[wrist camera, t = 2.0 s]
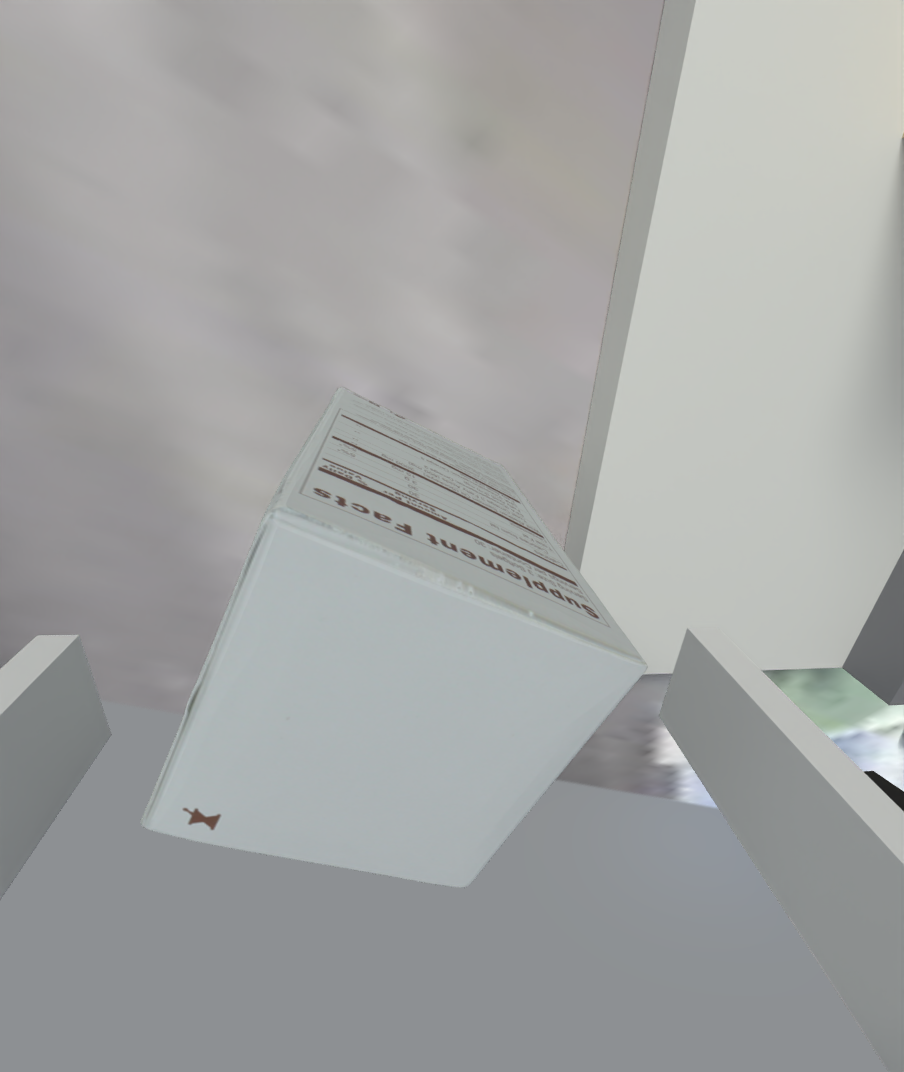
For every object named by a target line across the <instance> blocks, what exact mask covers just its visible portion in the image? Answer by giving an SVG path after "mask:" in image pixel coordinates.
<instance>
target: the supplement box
mask: <svg viewBox="0 0 904 1072" xmlns="http://www.w3.org/2000/svg"><path fill="white" fill-rule="evenodd" d="M647 668H648V666H647V664H646V662H645V661H644V660H643V658H642V657H641V656H640V654H639V653H638V651H637V650H636V649H635V647H634V646H633V645H632V643H631V642H630V640H629V639H628V638H627V636H626V635H625V634H624V632H623V631H622V630H621V628H620V627H619V626H618V625H617V623H616V622H615V620H614V619H613V617H612V616H611V615H610V613H609V612H608V610H607V609H606V608H605V606H604V605H603V603H602V602H601V601H600V599H599V598H598V596H597V595H596V594H595V592H594V591H593V590H592V588H591V587H590V586H589V584H588V583H587V582H586V580H585V579H584V578H583V576H582V575H581V573H580V572H579V571H578V569H577V568H576V567H575V565H574V564H573V563H572V561H571V560H570V559H569V557H568V556H567V554H566V553H565V552H564V550H563V549H562V548H561V547H560V545H559V544H558V543H557V541H556V540H555V538H554V537H553V535H552V534H551V532H550V531H549V530H548V528H547V527H546V526H545V524H544V523H543V522H542V520H541V519H540V517H539V516H538V514H537V513H536V511H535V510H534V509H533V507H532V506H531V505H530V503H529V502H528V500H527V499H526V498H525V496H524V495H523V493H522V492H521V491H520V489H519V488H518V486H517V485H516V484H515V482H514V481H513V479H512V478H511V477H510V475H509V474H508V472H507V471H506V470H505V469H504V467H503V466H502V465H500V464H498V463H496V462H493V461H491V460H489V459H487V458H485V457H483V456H481V455H479V454H477V453H475V452H473V451H471V450H469V449H467V448H465V447H463V446H461V445H459V444H456V443H454V442H452V441H450V440H448V439H446V438H444V437H442V436H440V435H438V434H436V433H434V432H432V431H430V430H428V429H426V428H424V427H422V426H420V425H418V424H416V423H414V422H412V421H410V420H408V419H406V418H404V417H402V416H400V415H398V414H396V413H394V412H392V411H390V410H388V409H386V408H384V407H382V406H380V405H378V404H376V403H374V402H372V401H370V400H368V399H366V398H364V397H362V396H360V395H357V394H355V393H353V392H351V391H349V390H347V389H345V388H343V387H340V388H338V390H337V391H336V393H335V394H334V396H333V398H332V400H331V402H330V404H329V406H328V407H327V409H326V411H325V412H324V414H323V415H322V417H321V419H320V420H319V422H318V423H317V425H316V426H315V428H314V430H313V431H312V433H311V435H310V436H309V438H308V440H307V441H306V443H305V444H304V446H303V447H302V449H301V451H300V452H299V454H298V455H297V457H296V458H295V460H294V462H293V463H292V465H291V467H290V468H289V470H288V471H287V473H286V475H285V476H284V478H283V480H282V482H281V484H280V486H279V488H278V489H277V491H276V493H275V495H274V497H273V499H272V501H271V503H270V505H269V507H268V508H267V510H266V512H265V514H264V516H263V518H262V521H261V523H260V526H259V528H258V531H257V533H256V536H255V538H254V541H253V543H252V546H251V548H250V551H249V553H248V556H247V558H246V561H245V563H244V566H243V568H242V571H241V573H240V576H239V578H238V581H237V583H236V586H235V588H234V591H233V593H232V596H231V598H230V601H229V603H228V606H227V608H226V611H225V613H224V616H223V619H222V621H221V624H220V626H219V629H218V631H217V634H216V636H215V638H214V641H213V643H212V646H211V648H210V651H209V653H208V656H207V658H206V660H205V663H204V665H203V668H202V670H201V673H200V675H199V677H198V680H197V682H196V684H195V687H194V689H193V691H192V693H191V696H190V698H189V700H188V703H187V705H186V709H185V713H184V716H183V719H182V722H181V724H180V727H179V729H178V732H177V734H176V736H175V739H174V741H173V744H172V746H171V749H170V751H169V754H168V756H167V759H166V761H165V764H164V766H163V769H162V771H161V773H160V776H159V779H158V781H157V784H156V786H155V788H154V791H153V793H152V795H151V798H150V800H149V803H148V805H147V807H146V810H145V812H144V814H143V817H142V820H141V825H142V826H143V827H144V828H146V829H149V830H152V831H156V832H159V833H162V834H166V835H171V836H175V837H179V838H183V839H187V840H191V841H196V842H201V843H206V844H211V845H216V846H221V847H226V848H231V849H237V850H242V851H248V852H254V853H260V854H266V855H271V856H277V857H283V858H289V859H294V860H299V861H306V862H312V863H319V864H325V865H330V866H336V867H341V868H346V869H351V870H357V871H362V872H368V873H375V874H380V875H386V876H391V877H397V878H403V879H408V880H413V881H420V882H424V883H429V884H436V885H443V886H451V887H461V888H465V887H467V886H469V885H470V884H471V883H472V882H473V881H474V879H475V878H476V877H477V876H478V874H479V873H480V872H481V871H482V870H483V868H484V867H485V866H486V864H487V863H488V862H489V861H490V859H491V858H492V857H493V856H494V854H495V853H496V852H497V851H498V849H499V848H500V847H501V846H502V844H503V843H504V842H505V841H506V839H507V838H508V837H509V835H511V833H512V832H513V831H514V830H515V828H516V827H517V826H518V825H519V823H520V822H521V821H522V820H523V819H524V818H525V816H526V815H527V814H528V813H529V811H530V810H531V809H532V808H533V807H534V805H535V804H536V803H537V802H538V801H539V799H540V798H541V797H542V796H543V795H544V793H545V792H546V791H547V790H548V788H549V787H550V786H551V785H552V784H553V782H554V781H555V780H556V779H557V777H558V776H559V775H560V774H561V773H562V771H563V770H564V769H565V768H566V767H567V765H568V764H569V763H570V762H571V760H572V759H573V758H574V757H575V756H576V754H577V753H578V752H579V751H580V749H581V748H582V747H583V746H584V745H585V743H586V742H587V741H588V740H589V739H590V737H591V736H592V735H593V734H594V733H595V731H596V730H597V729H598V728H599V727H600V725H601V724H602V723H603V722H604V720H605V719H606V718H607V717H608V716H609V714H610V713H611V712H612V711H613V710H614V709H615V707H616V706H617V705H618V704H619V703H620V701H621V700H622V699H623V698H624V696H625V695H626V694H627V693H628V692H629V691H630V689H631V688H632V687H633V686H634V685H635V683H636V682H637V681H638V680H639V679H640V677H641V676H642V675H643V674H644V673H645V671H646V670H647Z"/></svg>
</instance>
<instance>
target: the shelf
mask: <svg viewBox="0 0 904 1072" xmlns="http://www.w3.org/2000/svg"><path fill="white" fill-rule="evenodd" d="M903 133H904V0H665V3H664V8H663V14H662V19H661V25H660V30H659V36H658V41H657V47H656V52H655V58H654V63H653V69H652V74H651V80H650V85H649V90H648V96H647V101H646V107H645V112H644V118H643V123H642V129H641V134H640V140H639V145H638V151H637V156H636V161H635V167H634V172H633V178H632V183H631V189H630V194H629V200H628V205H627V211H626V216H625V222H624V227H623V233H622V238H621V243H620V249H619V254H618V260H617V265H616V271H615V276H614V282H613V287H612V293H611V298H610V304H609V309H608V315H607V320H606V325H605V331H604V336H603V342H602V347H601V353H600V358H599V364H598V369H597V375H596V380H595V386H594V391H593V397H592V402H591V407H590V413H589V418H588V424H587V429H586V435H585V440H584V446H583V451H582V457H581V462H580V468H579V473H578V478H577V484H576V489H575V495H574V500H573V506H572V511H571V517H570V522H569V528H568V533H567V539H566V544H565V550H564V552H565V553H566V554H567V556H568V557H569V559H570V560H571V561H572V563H573V564H574V565H575V567H576V568H577V569H578V571H579V572H580V573H581V575H582V576H583V578H584V579H585V580H586V582H587V583H588V584H589V586H590V587H591V588H592V590H593V591H594V592H595V594H596V595H597V596H598V598H599V599H600V601H601V602H602V603H603V605H604V606H605V608H606V609H607V610H608V612H609V613H610V615H611V616H612V617H613V619H614V620H615V622H616V623H617V625H618V626H619V627H620V628H621V630H622V631H623V632H624V634H625V635H626V636H627V638H628V639H629V640H630V642H631V643H632V645H633V646H634V647H635V649H636V650H637V651H638V653H639V654H640V656H641V657H642V658H643V660H644V661H645V662H646V664H647V666H648V668H647V670H646V671H645V673H644V674H671V673H673V670H674V667H675V664H676V661H677V658H678V655H679V652H680V649H681V646H682V643H683V640H684V637H685V633H686V630H687V628H719V629H720V630H721V631H722V632H723V633H724V634H725V635H726V636H727V637H728V638H729V639H730V640H731V641H732V642H733V643H734V644H735V645H736V646H737V647H738V648H739V649H740V650H741V651H742V652H743V653H744V654H745V655H746V656H747V657H748V658H749V659H750V660H751V661H752V662H753V663H754V664H755V665H756V666H757V667H758V668H759V669H760V670H785V669H813V668H843V669H844V670H846V671H847V672H848V673H849V674H851V675H852V676H853V677H854V678H856V679H857V680H858V681H859V682H861V683H862V684H863V685H864V686H866V687H867V688H868V689H869V690H871V691H872V692H873V693H874V694H876V695H877V696H878V697H879V698H881V699H882V700H883V701H884V702H886V703H887V704H888V705H904V138H902V136H903Z"/></svg>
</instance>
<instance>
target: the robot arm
mask: <svg viewBox="0 0 904 1072" xmlns="http://www.w3.org/2000/svg"><path fill="white" fill-rule="evenodd" d="M659 717H660V719H661V720H662V722H663V723H664V725H665V726H666V728H667V729H668V731H669V733H670V734H671V736H672V737H673V739H674V740H675V742H676V743H677V745H678V746H679V748H680V750H681V751H682V753H683V754H684V756H685V757H686V759H687V760H688V762H689V764H690V765H691V767H692V768H693V770H694V771H695V773H696V774H697V776H698V777H699V779H700V781H701V782H702V784H703V785H704V787H705V788H706V790H707V791H708V793H709V795H710V796H711V798H712V799H713V801H714V802H715V804H716V805H717V807H718V808H719V810H720V812H721V813H722V815H723V816H724V818H725V819H726V821H727V822H728V824H729V825H730V827H731V829H732V830H733V832H734V833H735V835H736V836H737V838H738V839H739V841H740V842H741V844H742V846H743V847H744V849H745V850H746V852H747V853H748V855H749V857H750V858H751V859H752V861H753V863H754V864H755V866H756V867H757V869H758V870H759V872H760V874H761V875H762V877H763V878H764V879H765V881H766V883H767V884H768V886H769V887H770V889H771V891H772V892H773V894H774V895H775V897H776V898H777V900H778V901H779V903H780V905H781V906H782V908H783V909H784V911H785V912H786V914H787V915H788V917H789V919H790V920H791V922H792V923H793V925H794V926H795V928H796V929H797V931H798V933H799V934H800V936H801V937H802V939H803V940H804V942H805V943H806V945H807V946H808V948H809V950H810V951H811V953H812V954H813V956H814V957H815V959H816V960H817V962H818V964H819V965H820V967H821V968H822V970H823V971H824V973H825V974H826V976H827V978H828V979H829V981H830V982H831V984H832V985H833V987H834V988H835V990H836V991H837V993H838V994H839V996H840V998H841V999H842V1001H843V1002H844V1004H845V1005H846V1007H847V1008H848V1010H849V1012H850V1013H851V1014H852V1016H853V1018H854V1019H855V1021H856V1022H857V1024H858V1025H859V1027H860V1029H861V1030H862V1032H863V1033H864V1035H865V1036H866V1038H867V1040H868V1041H869V1043H870V1044H871V1046H872V1047H873V1049H874V1050H875V1052H876V1053H877V1055H878V1057H879V1058H880V1060H881V1061H882V1063H883V1064H884V1066H885V1067H886V1069H887V1070H888V1072H904V792H903V791H902V790H901V789H899V788H898V787H896V786H895V785H893V784H892V783H890V782H889V781H887V780H886V779H884V778H883V777H881V776H880V775H878V774H877V773H875V772H874V771H865V772H863V771H862V770H861V769H860V768H859V767H858V766H857V765H856V764H855V763H854V762H853V761H852V760H851V759H850V758H849V757H848V756H847V755H846V754H845V753H844V752H843V751H842V750H841V749H840V748H839V747H838V746H837V745H836V744H835V743H834V742H833V741H832V740H831V739H830V738H829V737H828V736H827V735H826V734H825V733H824V732H823V731H822V730H821V729H820V728H819V727H818V726H817V725H816V724H815V723H814V722H813V721H812V720H811V719H810V718H809V717H808V716H807V715H806V714H805V713H804V712H803V711H802V710H800V709H799V708H798V707H797V706H796V705H795V704H794V703H793V702H792V701H791V700H790V699H789V698H788V697H787V696H786V695H785V694H784V693H783V692H782V691H781V690H780V689H779V688H778V687H777V686H776V685H775V684H774V683H773V682H772V681H771V680H770V679H769V678H768V677H767V676H766V675H765V674H764V673H763V672H762V671H761V670H760V669H759V668H758V667H757V666H756V665H755V664H754V663H753V662H752V661H751V660H750V659H749V658H748V657H747V656H746V655H745V654H744V653H743V652H742V651H741V650H740V649H739V648H738V647H737V646H736V645H735V644H734V643H733V642H732V641H731V640H730V639H729V638H728V637H727V636H726V635H725V634H724V633H723V632H722V631H721V630H720V629H719V628H687V630H686V633H685V637H684V640H683V643H682V646H681V649H680V652H679V655H678V658H677V661H676V664H675V667H674V670H673V673H672V677H671V680H670V683H669V686H668V689H667V692H666V695H665V698H664V701H663V704H662V707H661V710H660V714H659ZM111 735H112V734H111V731H110V728H109V725H108V722H107V719H106V716H105V713H104V710H103V707H102V704H101V701H100V698H99V694H98V691H97V688H96V685H95V682H94V679H93V676H92V673H91V670H90V667H89V664H88V661H87V658H86V655H85V651H84V648H83V645H82V642H81V639H80V636H79V635H37V636H36V637H35V638H34V639H33V640H32V641H31V642H30V643H29V644H27V645H26V646H25V647H24V648H23V649H22V650H21V651H20V652H19V653H17V654H16V655H15V656H14V657H13V658H12V659H11V660H10V661H9V662H7V663H6V664H5V665H4V666H3V667H2V668H1V669H0V900H1V898H2V897H3V895H4V894H5V892H6V891H7V889H8V888H9V886H10V885H11V883H12V882H13V880H14V879H15V877H16V876H17V875H18V873H19V872H20V870H21V869H22V867H23V865H24V864H25V863H26V861H27V860H28V858H29V857H30V855H31V854H32V852H33V851H34V849H35V848H36V846H37V845H38V843H39V842H40V840H41V839H42V837H43V836H44V834H45V833H46V832H47V830H48V829H49V827H50V826H51V824H52V823H53V821H54V820H55V818H56V817H57V815H58V814H59V812H60V811H61V809H62V808H63V806H64V805H65V803H66V802H67V800H68V799H69V797H70V796H71V794H72V793H73V791H74V790H75V788H76V787H77V785H78V784H79V783H80V781H81V779H82V778H83V777H84V775H85V774H86V772H87V771H88V769H89V768H90V766H91V765H92V763H93V762H94V760H95V759H96V757H97V756H98V754H99V753H100V751H101V750H102V748H103V747H104V745H105V744H106V743H107V741H108V740H109V738H110V737H111Z"/></svg>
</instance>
